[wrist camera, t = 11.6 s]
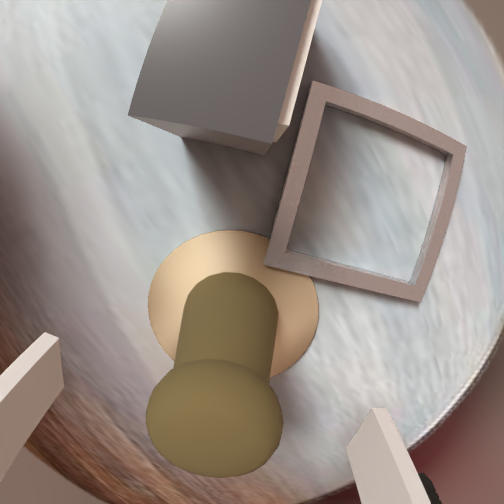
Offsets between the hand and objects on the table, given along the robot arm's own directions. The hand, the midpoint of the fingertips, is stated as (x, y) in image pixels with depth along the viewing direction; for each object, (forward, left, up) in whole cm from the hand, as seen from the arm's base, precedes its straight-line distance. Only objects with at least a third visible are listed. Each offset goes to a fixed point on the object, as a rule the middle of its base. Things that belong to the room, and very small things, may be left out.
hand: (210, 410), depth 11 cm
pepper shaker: (0, 0, -9) cm, 9 cm away
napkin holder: (-3, +15, -9) cm, 18 cm away
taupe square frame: (+7, +9, -9) cm, 15 cm away
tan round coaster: (0, 0, -9) cm, 9 cm away
